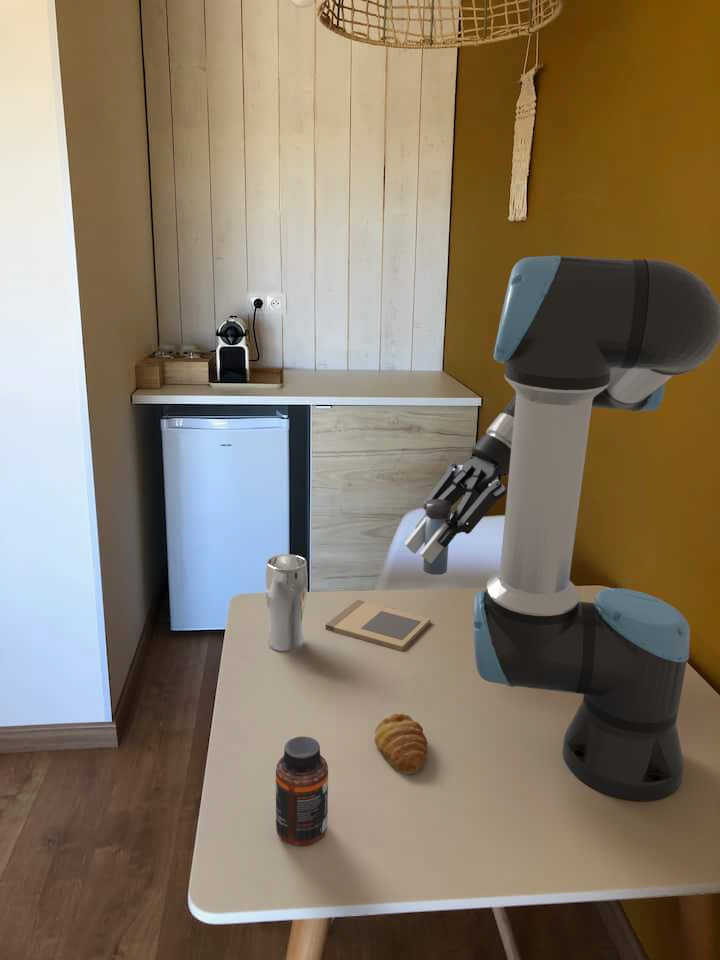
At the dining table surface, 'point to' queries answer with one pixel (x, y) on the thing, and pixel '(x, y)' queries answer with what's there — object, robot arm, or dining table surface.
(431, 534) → the blue bottle
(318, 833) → the supplement bottle
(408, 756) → the pastry
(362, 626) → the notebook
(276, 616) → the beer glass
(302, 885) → the dining table surface
